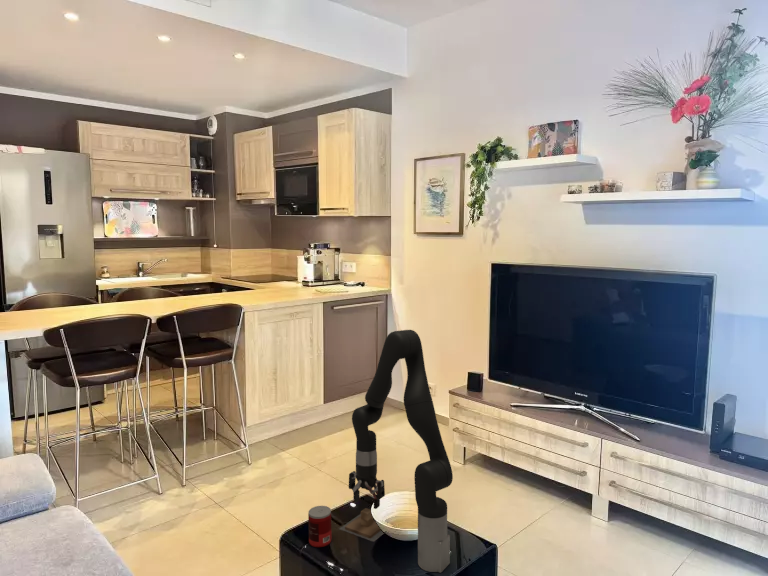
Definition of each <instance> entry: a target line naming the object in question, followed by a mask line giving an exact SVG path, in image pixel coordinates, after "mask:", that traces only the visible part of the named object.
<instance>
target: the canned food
mask: <svg viewBox="0 0 768 576" xmlns="http://www.w3.org/2000/svg"><path fill="white" fill-rule="evenodd" d="M307 519H308V543H309V546H312V547H315V548H323V547H327V546H329V545H330V543H331V542H332V540H333V539H332V538H333V537H332V535H333V534H332V509H331V508H330V507H329V506H327V505H316V506H313V507H311V508H310V509H309V510H308V516H307Z"/></svg>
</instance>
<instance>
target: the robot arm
mask: <svg viewBox="0 0 768 576" xmlns="http://www.w3.org/2000/svg"><path fill="white" fill-rule="evenodd" d="M400 360H404V362H405V366H406V372H407V374H406V375H407V379H406V383H405V389H404V393H403V406H404V409H405V410H404V411H405V415H406V419H407V422H408V423H409V425H410V427H411V428H412V430H414V431H415V433H416V434H417V435H418V436H419V438H421V440H422V441H423V443H424V444H425V447H426V450H427V453H428V456H429V460H428V461H424V462H422V463H419V464H417V466H416V467H415V470H414V478H413V479H414V493H415V496H414V497H415V502H416V505H417V564H418V566H419V568H421V569H422V570H423V571H426V572H431V573H442V572H443V571H444V570H445V569H447V567H448V566H449V565H450V564H451V561H450V560H451V557H450V555H451V550H450V547H451V545H450V543H451V541H450V540H451V535H450V534H448V503H447V502H446V500H444V499H443V498H441V497H439V496H437V492H438V491H441V490H443V489H446V488H448V487H450V486H451V485H452V482H453V479H454V478H453V477H454V476H453V471H452V465H451V462H450V459H449V456H448V454H447V451H446V448H445V445H444V442H443V438H442V435H441V431H440V427H439V423H438V419H437V414H436V409H435V406H434V401H433V398H432V393H431V391H430V386H429V381H428V375H427V372H426V367H425V365H426V364H425V359H424V351H423V345H422V341H421V338H420V335H419V334H418V333H417V332H416V331H415V330H414V329H404V330H402V329H400V330H394V331H391V332H390V333H389V334H388V335H387V336H386V338H385V340H384V342H383V347H382V349H381V354H380V356H379V361H378V364H377V367H376V371H375V374H374V376H373V378H372V381H371V382H370V385H369V387H368V388H367V391H366V393H365V396H364V400H365V403H366V404H365V405H362V406H359V407H357V408H355V409H354V410H353V412H352V415H351V423H352V426H353V430H354V434H355V438H356V442H355V443H356V444H355V445H356V451H355V470H353V471H351V472H350V473H349V474H348V489H349V490H352V492H353V500H354V502H355V503H358V502H359V501H360V498H361V497H360V496H361V495H360V494H361V493H360V491H361V490H360V488H361V489H364V490H366V491H368V492H369V493H370V494H371V495H372V497H373V509H375V510H376V509H378V508H379V507H380V505H381V499H382V498H384V497H385V495H386V494H385V493H386V492H385V491H386V490H385V480H384V479H381V480H379V479H377V473H378V452H377V433H375V431H373V430H369V426H371V425H374V424H376V423H377V422H379V420H380V419H381V417H382V415H383V410H384V406H385V402H386V401H387V398H388V397H389V394H390V392H391V389H392V387H393V376H392V375H393V370H394V368H395V366H396V365H397V363H399V361H400ZM356 481H357V483H356Z"/></svg>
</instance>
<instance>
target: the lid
mask: <svg viewBox="0 0 768 576" xmlns="http://www.w3.org/2000/svg"><path fill="white" fill-rule="evenodd" d="M371 510H372V509H370V508H367V507H365V508H363V509H362V510H361V511H360V514H361V516H359V517H358V518H357V519H355V520H354V521H352V522H351V523H350V524H348V525H347V526H345V529H346V530H348V531H351V532H354V533H356V534H359V535H362V536H365V537H367V538H370V539H371V538H372V537H373V536H374V535H376V534H377V533H378V532H380V531H381V530H380V528H379V527H378V525H377V524H376V522H375V521H374V520H373V517H374V516H373V517H372V514H371Z"/></svg>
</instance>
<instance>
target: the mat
mask: <svg viewBox="0 0 768 576" xmlns="http://www.w3.org/2000/svg"><path fill="white" fill-rule="evenodd" d="M359 516H361V513H359V514H358V515H357V516H355V517H354V518H352V519H351V520H350V521H348V522H347V523H345V524H344V525H343V526H341V527H340V528H339V530H341V531H343V532H345V533H347V534H351V535H354V536H356V537H359V538H362V539H365V540H368V541H370V542H373V543H374V542H376V540H378V539H379V538H381V537H382V535H384V534H385V533H383V532H382V531H380V532H378V533H377V534H376V535H374V536H373V537H372V538H371V539H370V538H367V537H365V536H362V535H359V534H356V533H354V532H351V531H348V530H346V529H345V526H347V525H348V524H350V523H351V522H352V521H354V520H355V519H357V518H358V517H359Z"/></svg>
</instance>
